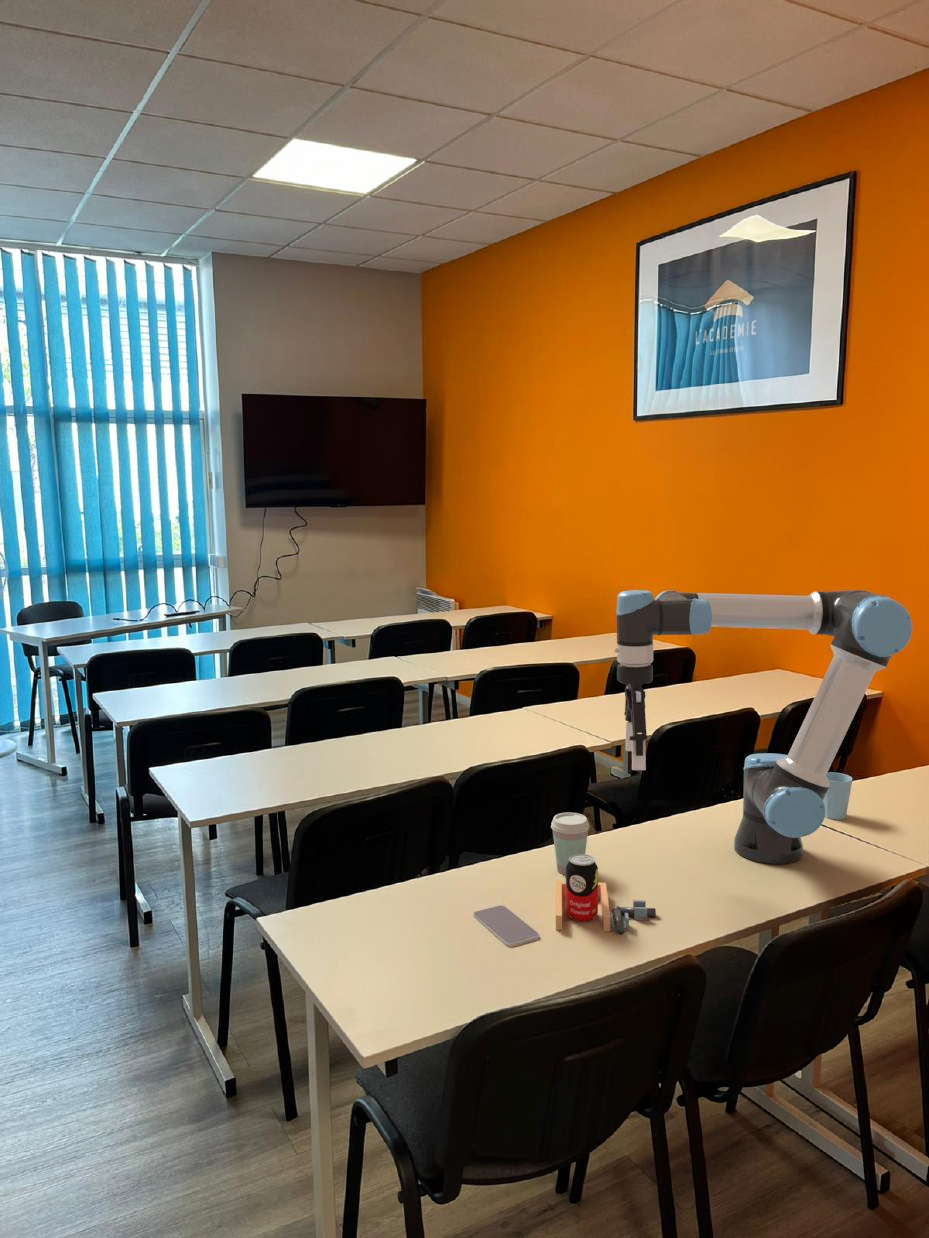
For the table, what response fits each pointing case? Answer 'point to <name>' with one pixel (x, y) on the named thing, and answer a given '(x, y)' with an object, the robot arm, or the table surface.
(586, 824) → the coffee cup
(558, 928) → the end holder
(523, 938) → the smartphone
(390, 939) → the table surface
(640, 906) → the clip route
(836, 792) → the cup
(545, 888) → the table surface
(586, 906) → the beverage can
